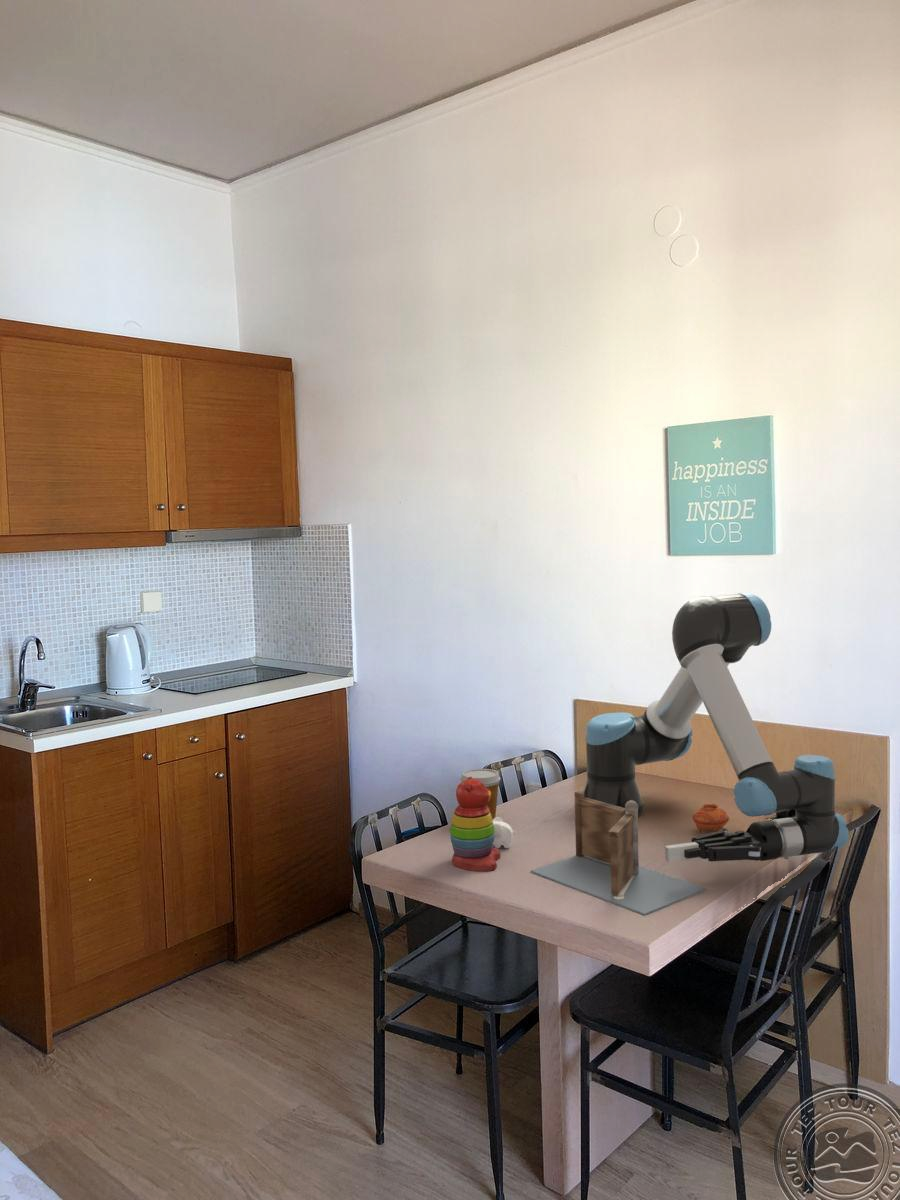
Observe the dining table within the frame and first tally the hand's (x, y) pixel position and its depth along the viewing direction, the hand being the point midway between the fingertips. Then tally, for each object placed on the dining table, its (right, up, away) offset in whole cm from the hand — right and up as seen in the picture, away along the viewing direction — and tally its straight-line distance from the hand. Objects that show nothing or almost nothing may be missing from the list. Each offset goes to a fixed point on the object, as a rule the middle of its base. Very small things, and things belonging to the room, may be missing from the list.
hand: (666, 854), depth 190 cm
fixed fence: (-10, -6, +13) cm, 17 cm away
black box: (+37, -3, +41) cm, 56 cm away
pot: (+17, -4, +33) cm, 37 cm away
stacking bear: (-37, -7, +18) cm, 41 cm away
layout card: (-9, -6, +5) cm, 12 cm away
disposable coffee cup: (-34, -4, +45) cm, 56 cm away
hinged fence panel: (-8, -6, +1) cm, 10 cm away
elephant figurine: (-31, -6, +27) cm, 42 cm away
